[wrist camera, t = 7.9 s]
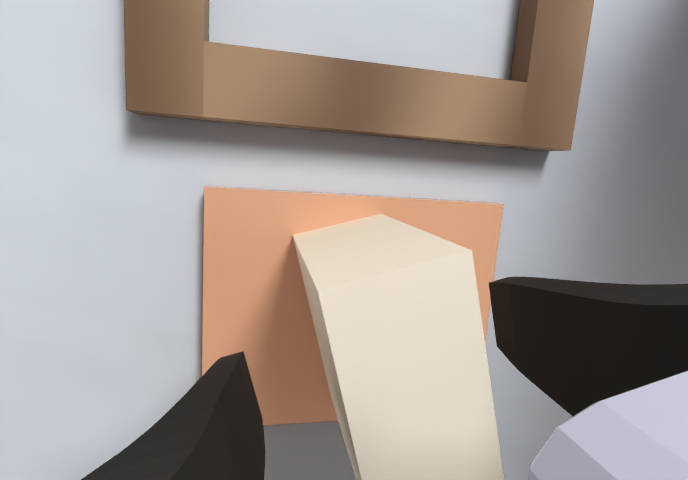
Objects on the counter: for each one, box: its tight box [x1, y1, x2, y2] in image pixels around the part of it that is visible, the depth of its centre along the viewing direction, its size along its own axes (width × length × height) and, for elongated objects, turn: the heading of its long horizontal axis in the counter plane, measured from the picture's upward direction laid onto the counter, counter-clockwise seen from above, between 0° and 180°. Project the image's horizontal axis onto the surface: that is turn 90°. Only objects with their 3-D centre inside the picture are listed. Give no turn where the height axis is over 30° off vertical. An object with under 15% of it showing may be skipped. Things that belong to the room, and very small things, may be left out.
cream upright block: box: [293, 214, 504, 480], centre depth 11 cm, size 3×6×6 cm, turn 11°
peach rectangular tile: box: [202, 186, 504, 425], centre depth 14 cm, size 10×8×1 cm
